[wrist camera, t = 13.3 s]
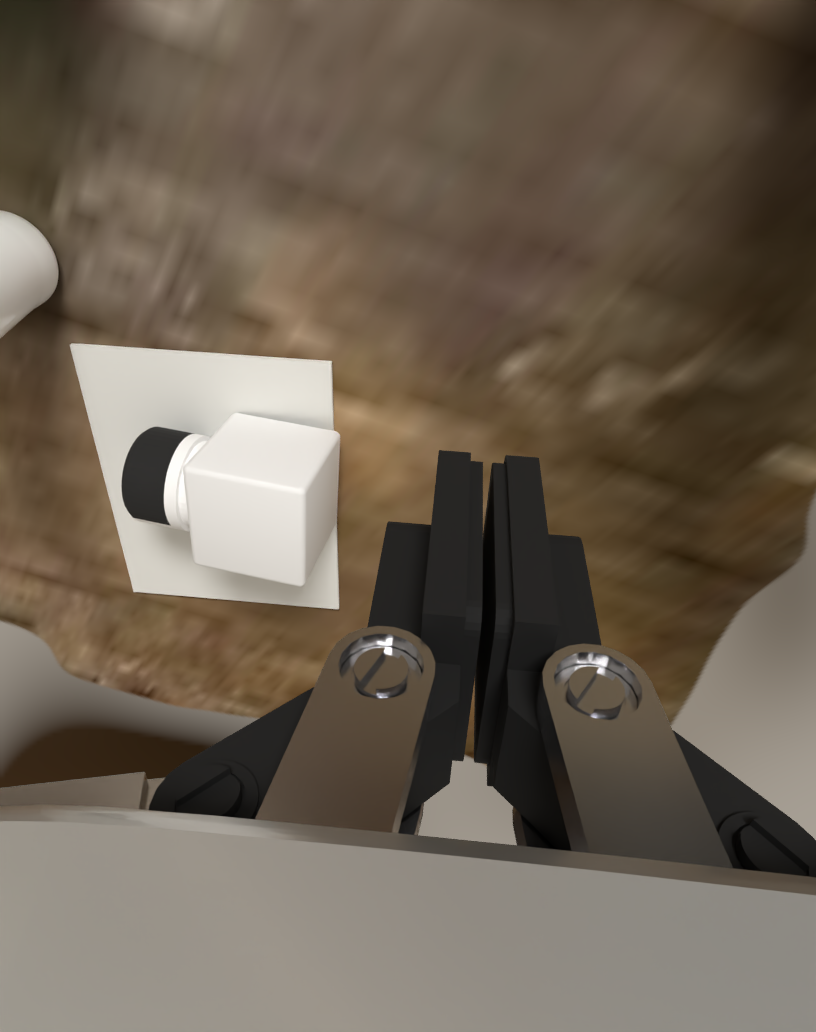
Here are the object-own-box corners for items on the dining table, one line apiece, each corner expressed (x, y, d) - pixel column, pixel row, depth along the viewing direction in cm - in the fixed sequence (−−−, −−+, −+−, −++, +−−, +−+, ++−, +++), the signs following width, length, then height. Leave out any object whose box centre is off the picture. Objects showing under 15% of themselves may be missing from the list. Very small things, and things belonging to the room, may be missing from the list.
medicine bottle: (342, 430, 43) (160, 396, 45) (304, 491, 38) (98, 450, 39) (338, 522, 48) (172, 489, 49) (303, 590, 42) (117, 550, 43)
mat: (332, 361, 42) (331, 363, 42) (339, 606, 54) (338, 609, 53) (72, 343, 43) (69, 345, 43) (135, 589, 54) (133, 591, 54)
